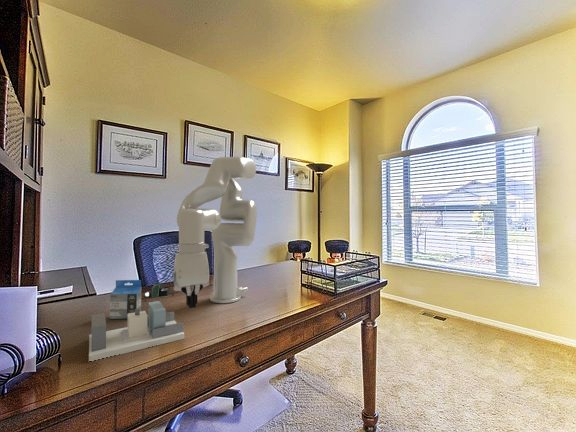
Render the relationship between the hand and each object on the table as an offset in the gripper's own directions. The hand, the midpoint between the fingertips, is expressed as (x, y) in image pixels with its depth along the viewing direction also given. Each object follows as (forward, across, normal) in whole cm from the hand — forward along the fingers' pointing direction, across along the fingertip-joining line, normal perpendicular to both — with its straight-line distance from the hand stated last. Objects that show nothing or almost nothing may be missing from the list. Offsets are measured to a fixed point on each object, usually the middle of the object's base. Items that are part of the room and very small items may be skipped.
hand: (191, 306), depth 87 cm
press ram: (+4, +10, 0) cm, 11 cm away
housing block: (+4, +15, 0) cm, 16 cm away
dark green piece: (+7, +1, -43) cm, 44 cm away
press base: (+6, +15, 0) cm, 16 cm away
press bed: (+5, +15, 0) cm, 16 cm away
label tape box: (+7, +16, -21) cm, 27 cm away
